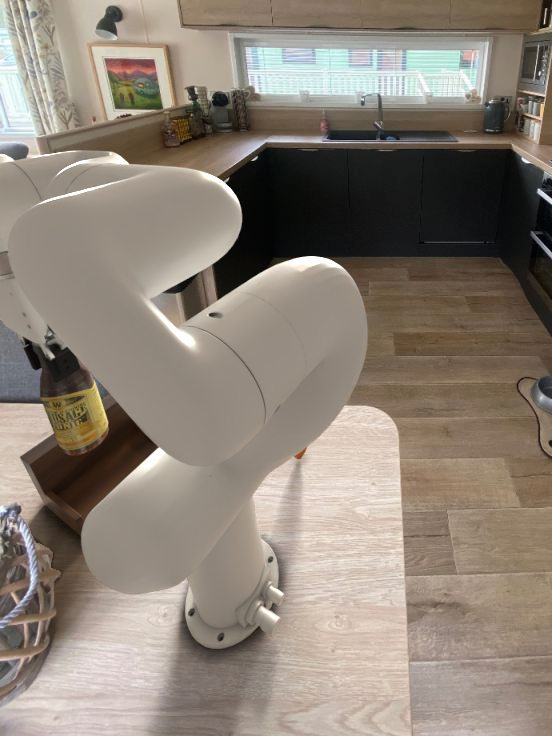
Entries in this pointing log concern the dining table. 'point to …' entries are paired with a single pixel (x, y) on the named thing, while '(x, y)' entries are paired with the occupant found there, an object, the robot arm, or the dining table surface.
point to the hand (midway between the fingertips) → (56, 368)
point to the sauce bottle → (73, 407)
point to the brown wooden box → (87, 467)
